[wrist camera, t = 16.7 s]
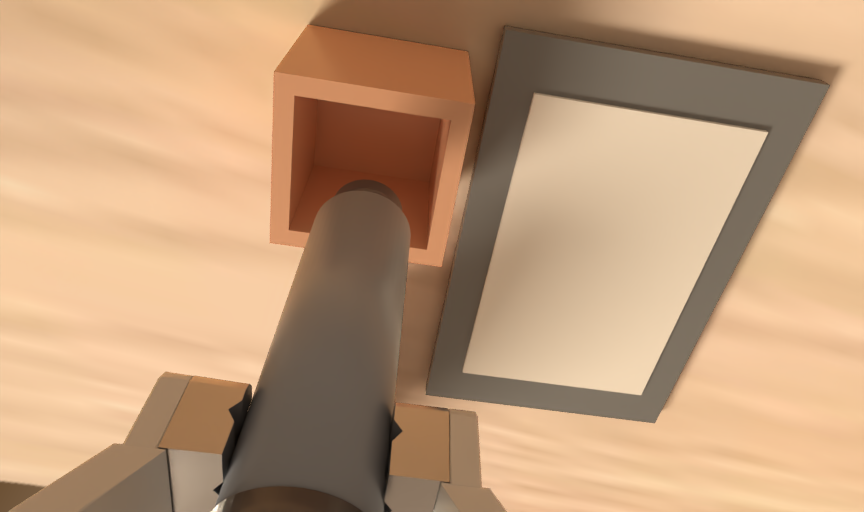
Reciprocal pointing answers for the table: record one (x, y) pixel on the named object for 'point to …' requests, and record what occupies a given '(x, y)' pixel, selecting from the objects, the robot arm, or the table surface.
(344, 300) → the marker
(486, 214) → the writing board
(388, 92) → the pen holder
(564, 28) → the table surface
